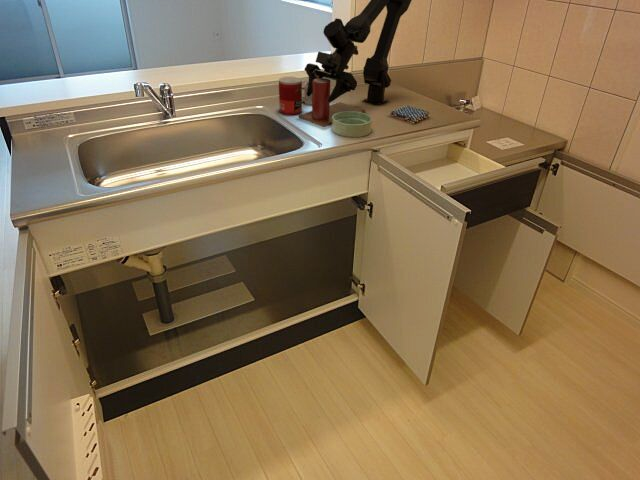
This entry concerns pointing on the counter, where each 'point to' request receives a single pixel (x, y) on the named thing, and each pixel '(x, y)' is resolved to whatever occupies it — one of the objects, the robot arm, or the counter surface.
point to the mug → (307, 99)
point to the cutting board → (330, 114)
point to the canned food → (290, 95)
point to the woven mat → (409, 114)
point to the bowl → (351, 124)
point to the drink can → (320, 98)
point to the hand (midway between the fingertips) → (317, 98)
